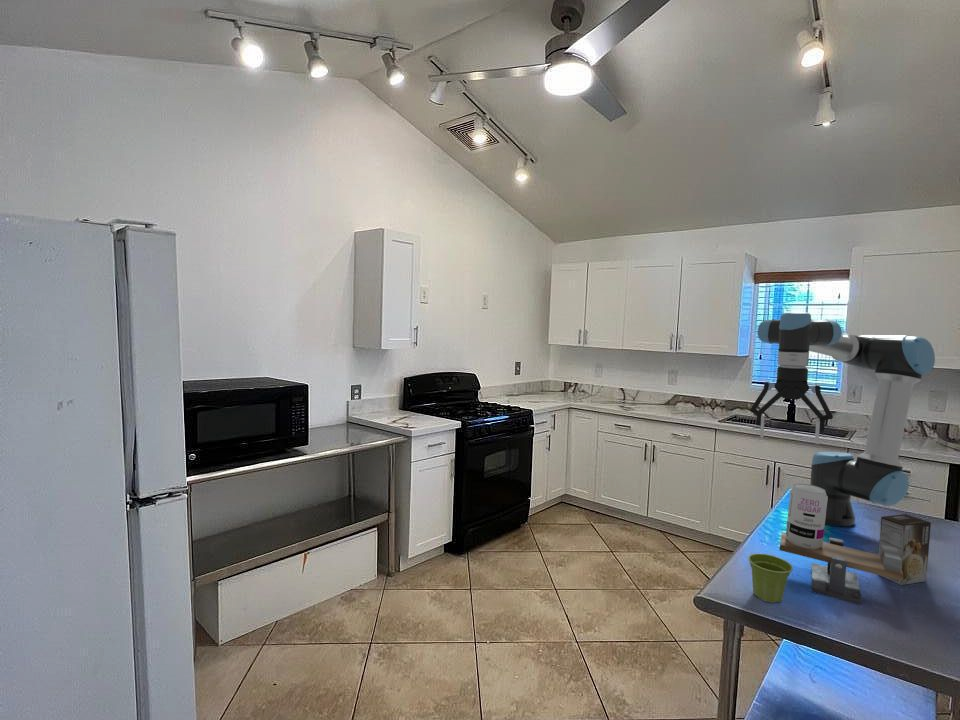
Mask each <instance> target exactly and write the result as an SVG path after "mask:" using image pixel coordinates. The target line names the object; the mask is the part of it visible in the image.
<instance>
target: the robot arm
mask: <svg viewBox="0 0 960 720" xmlns="http://www.w3.org/2000/svg"><path fill="white" fill-rule="evenodd" d="M756 331H757V332H756V333H757V337H758V339H759V341H761V342H762V343H764V344H765V343H767V344H772V345H773V344H778V353H777V365H778V367H777V370H776V371H777V372H776V381H775V383H774V382H769V381H764V384H763V389H762V391H761V392H760V393H759V395H758V396H757V398H756V400H755V402H754V403H753V404H752V406H751V408H750V409H749V411H750V413H754V414H755V415H756V426H760V431H759V432H760V434H759V435H760V437H759V438H761V439H762V438H764V433H765V414H764V412H766V411H767V410H768V409H769V408H770V407H771V406H772V405H774V404H775V403H776V402H777V401H778V400H780V399H781V398H782V399H785V400H794V401H798V400H800V399H801V400H802V401H803V403H805V404H806V406H807V407H808V408H809V409H810V410H811V412H813V414H814V415H816V417H817V418H816V421H815V434H814V435H815V436H814V437H815V438H814V443H815V445H819V441H820V432H821V433H824V431H825V425H826V424H825V422H826V421H828V420H832V419H833V418H834V416H833V414H832V412H831V410H830V408H829V406H828V404H827V402H826V400H825V399H824V397H823V395H822V392H821V390H822V389H821V386H820V384H815V385H809V384H808V379H809V378H808V377H809V369H808V368H807V367H808V366H809V363H810V361H809V360H810V352H812V353H815V354H816V353H817V354H820V355H825V356H829V357H831V358H832V359H834V360H835V361H837V362H840V363H845V364H847V365H851V366H855V367H858V368H862V369H866V370H875V371H874V376H875V377H876V378H877V379H878V383H877V384H878V385H877V389H876V393H875V398H874V403H873V409H872V413H871V418H870V424H869V426H868V427H869V428H868V431H867V437H866V443H865V446H864V451H863V452H862V453H860V454H858V455H857V456H856V457H857V458H856V460H855V457H854V455H853V454H852V453H848V452H841V451H819V452H816V453H814V454H813V455H812V460H811V464H810V465H811V468H810V469H811V471H810V484H809V485H813V486H817V487H820V488H822V489H824V490H825V492H826V494H827V496H828V500H827V509H826V518H825V525H829V526H835V527H852V526H851V525H853V524H854V525H855V524H856V515H855V511H854V508H853V505H852V502H851V499H852V497H855V498H857V499H861V500H864V501H866V502H871V503H872V504H874V505H875V504H876V505H880V506H885V507H893V506H895V505H897V504H899V503H900V502H901V501H902V500H903V499H904V497H905V496H906V495H907V493H908V491H909V487H910V480H909V476H908V475H907V473H905V472H904V471H903V468H904V465H903V464H902V463H901V462H900V460H899V456H900V451H901V446H902V441H903V436H904V432H905V427H906V422H907V419H908V418H907V417H908V412H909V408H910V407H909V406H910V403H911V397H912V393H913V388H914V386H915V384H918V383H919V382H921V380H922V378H923V377H922V376H924V375H927V374H929V373H931V372H932V370H933V369H934V367H935V363H936V361H935V360H936V356H935V350H934V348H933V346H932V344H931V342H930V341H929V340H928V339H927V338H925V337H922V336H914V335H897V334H895V335H892V334H890V335H888V334H887V335H886V334H885V335H884V334H883V335H882V334H851V333H843V329H842V326H841V325H840V324H839V323H838V322H837V321H835V320H830V319H828V318H827V319H812V314H811V313H809V312H784V313H782V314H781V315H780V319H775V318H772V319H764V320H763V321H761V322H760V323H759V324H758V326H757V330H756ZM772 388H774V389H775V390H776V391H777V392H776V393H775V394H774V395H773V396H772V397H771V398H770V399H769V400H768V401H767V402H766V403H765V404H764V405H762V406H761V407H760V408H758V407H759V406H760V404H761V402H762V401H763V399H764V398H765V396H766V395H767V393H768V391H771V390H772ZM809 390H810V391H811V392H812V393H813V394H815V395H816V398H817V400H818V401H819V403H820V405H821V408H822V410H823V411H824V413H825V414H822V412H821V411H820V410H819V408H817V407H816V405H815V404H813V402H812V401H811V400H810V399H809V398H808V396H807V395H806V393H807V392H808V391H809ZM851 496H852V497H851ZM854 525H853V526H854Z"/></svg>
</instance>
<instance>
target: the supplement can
mask: <svg viewBox="0 0 960 720" xmlns="http://www.w3.org/2000/svg"><path fill="white" fill-rule="evenodd" d="M788 500H789V501H788V508H787V509H788V510H787V521H786V528H785V533H786V538H787V540H788V541H789V542H790V543H791V544H793V545H795V546H798V547H801V548H805V549H812V550H815V549H819V548H820V547H822V545H823V542H824V534H825V528H826V526H825V525H826V524H825V518H826V509H827V500H828V496H827V494H826V492H825V490H824V489H822V488H820V487H817V486H813V485H810V484H806V483H795V484H793V487H792V488H791V489H790V490H789V499H788Z"/></svg>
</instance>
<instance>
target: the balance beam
mask: <svg viewBox="0 0 960 720" xmlns="http://www.w3.org/2000/svg"><path fill="white" fill-rule="evenodd" d="M779 551H781V552H786V553H789V554H793V555H797V556H800V557H801V556H802V557H804V558H808V559H813V560H817V561H822V562H825V563H828V562H829V563H831V555H833V556H838V557H842V558H846V561H847V563H846V568H848V569H849V568H850V569H853V570H857V571H862V572H864V573H865V572H866V573H868V574H869V573H870V574H873V575H878V576H880V575H881V576H880V577H882V576H885V577H889V578H893V579H897V580H901V581H903V572H902V570H901V561H902V560H901V557H900V555H899V553H898V550H897V548H894V547H890V546H885V545H881V553H880V555H879V553H876V552H875V553H874V552H869V551H866V550H865V551H864V550H861V549H856V548H852V547H850V546H849V547H848V546H844V545H843V546H840V545H836V544H832V543H829V542H826V541H823V545H822V547H820V548H819V549H815V550H812V549H805V548H801V547H798V546H795V545H793V544H791V543H790V542H789V541H788V540H787V538H786V532H784V531H781V536H780V543H779Z"/></svg>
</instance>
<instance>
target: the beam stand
mask: <svg viewBox="0 0 960 720" xmlns="http://www.w3.org/2000/svg"><path fill="white" fill-rule="evenodd" d="M828 540H829V541H828V543H832V544H836V545H840V546H844V540H843V539H841V538H840V539H839V538H835V537H829V538H828ZM826 563H827V565H822V564H819V563H814V562H811V565H810V566H811V567H810V568H811V572H812V574H811V593H813V594H818V595H821V596H826V597H830V598H833V599H837V600H840V601H841V600H842V601H845V602H849V603H853V604H857V605H860V606H862V605H863V598H862V593H861V588H860V583H859V577H858V573H857V572H853V571H849V570H847V567H846V563H847V561H846V558H842V557H838V556H833V555H831V563H829V562H826ZM811 572H810V573H811Z"/></svg>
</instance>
